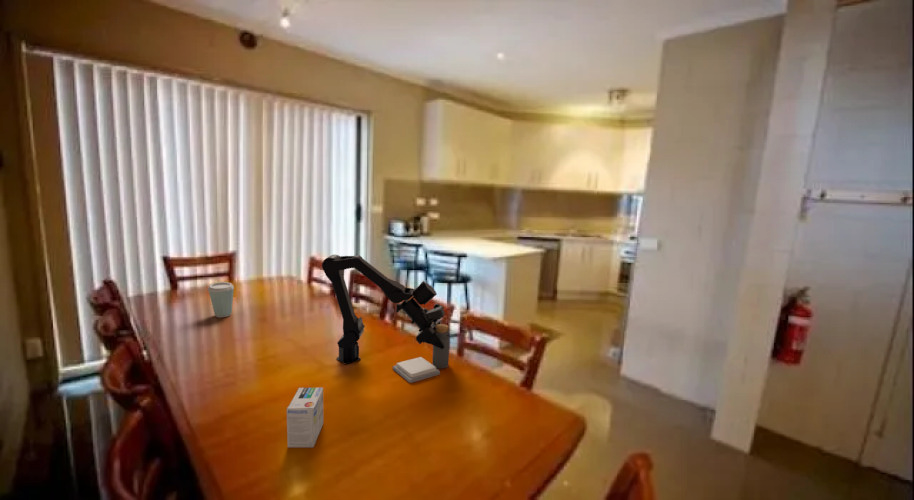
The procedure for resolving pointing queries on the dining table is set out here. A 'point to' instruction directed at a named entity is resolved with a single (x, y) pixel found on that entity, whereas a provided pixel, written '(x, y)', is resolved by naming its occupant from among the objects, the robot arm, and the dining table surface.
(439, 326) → the bottle
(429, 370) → the pedestal
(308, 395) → the light bulb box
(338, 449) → the dining table surface
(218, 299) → the disposable coffee cup
